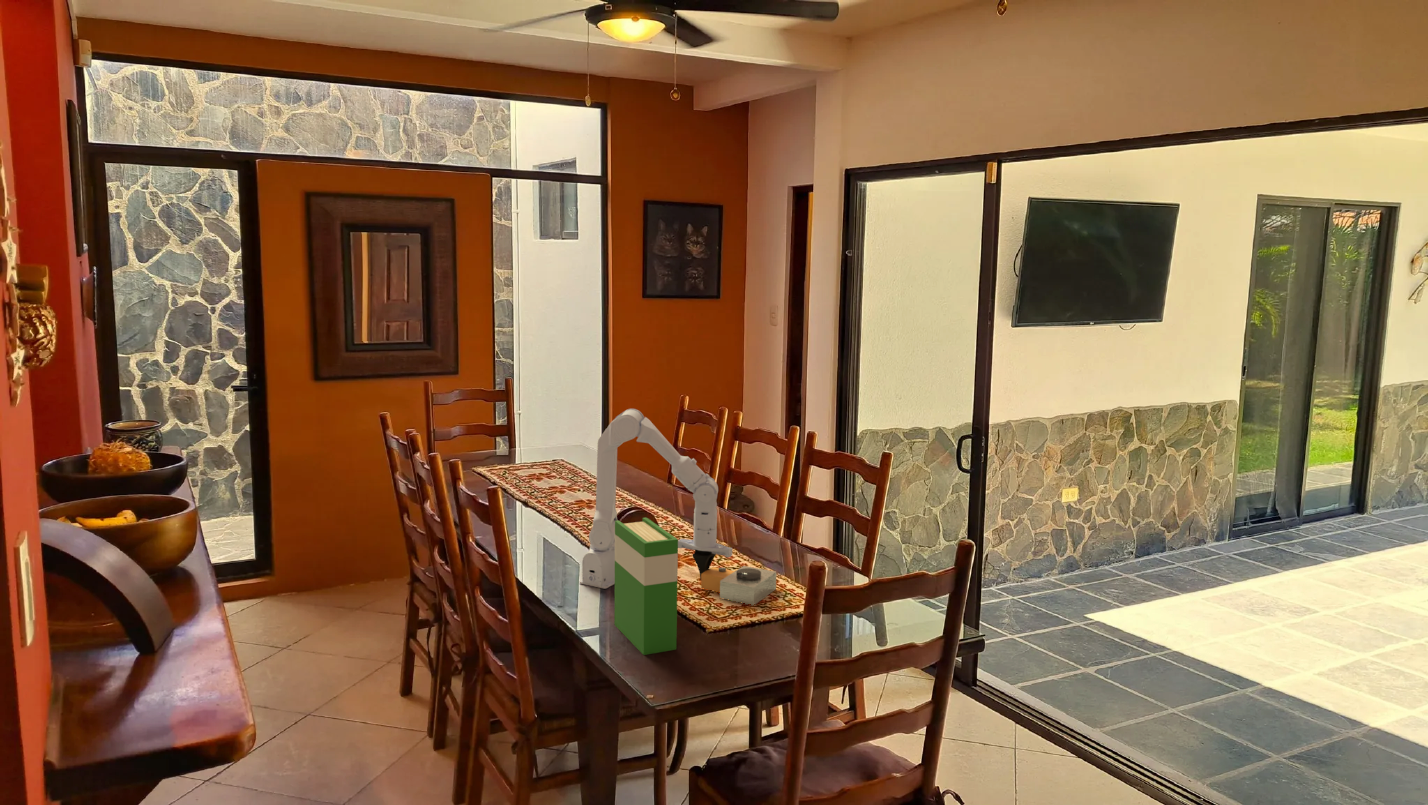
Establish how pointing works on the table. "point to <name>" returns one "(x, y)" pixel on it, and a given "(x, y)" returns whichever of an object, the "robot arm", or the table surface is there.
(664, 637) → the hardback book
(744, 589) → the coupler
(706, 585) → the lock block
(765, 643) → the table surface
